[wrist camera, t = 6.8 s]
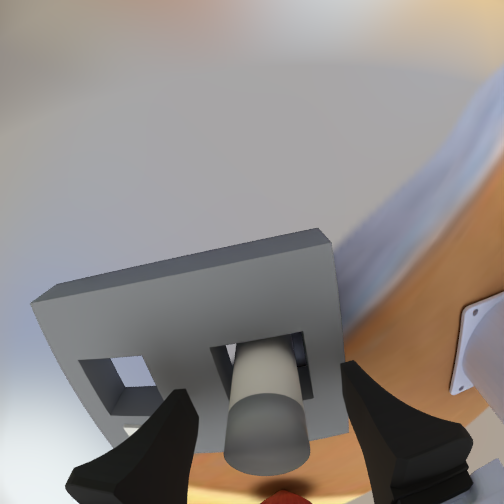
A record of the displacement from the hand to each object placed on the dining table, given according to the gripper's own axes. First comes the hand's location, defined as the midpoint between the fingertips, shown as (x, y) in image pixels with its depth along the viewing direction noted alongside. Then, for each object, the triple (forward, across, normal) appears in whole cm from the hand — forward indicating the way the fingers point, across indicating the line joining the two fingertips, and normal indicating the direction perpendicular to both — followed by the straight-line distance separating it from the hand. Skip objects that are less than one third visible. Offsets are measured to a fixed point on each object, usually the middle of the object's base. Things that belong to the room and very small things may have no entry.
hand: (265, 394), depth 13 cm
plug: (+4, 0, 0) cm, 4 cm away
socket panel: (+4, +4, 0) cm, 6 cm away
